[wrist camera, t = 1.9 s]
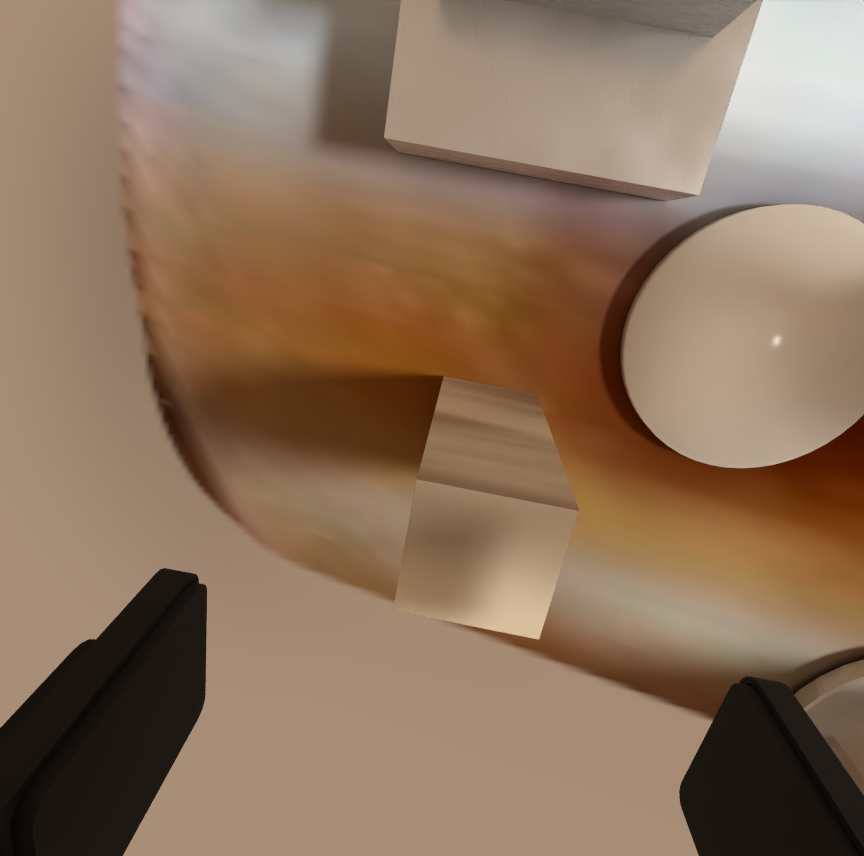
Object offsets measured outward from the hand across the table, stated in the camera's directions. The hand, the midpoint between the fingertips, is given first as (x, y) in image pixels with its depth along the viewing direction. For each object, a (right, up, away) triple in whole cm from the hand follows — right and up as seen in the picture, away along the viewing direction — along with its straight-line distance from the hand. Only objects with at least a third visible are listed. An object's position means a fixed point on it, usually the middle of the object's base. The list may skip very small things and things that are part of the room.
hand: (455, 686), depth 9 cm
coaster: (+12, +8, +11) cm, 18 cm away
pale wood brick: (+2, +5, +13) cm, 14 cm away
